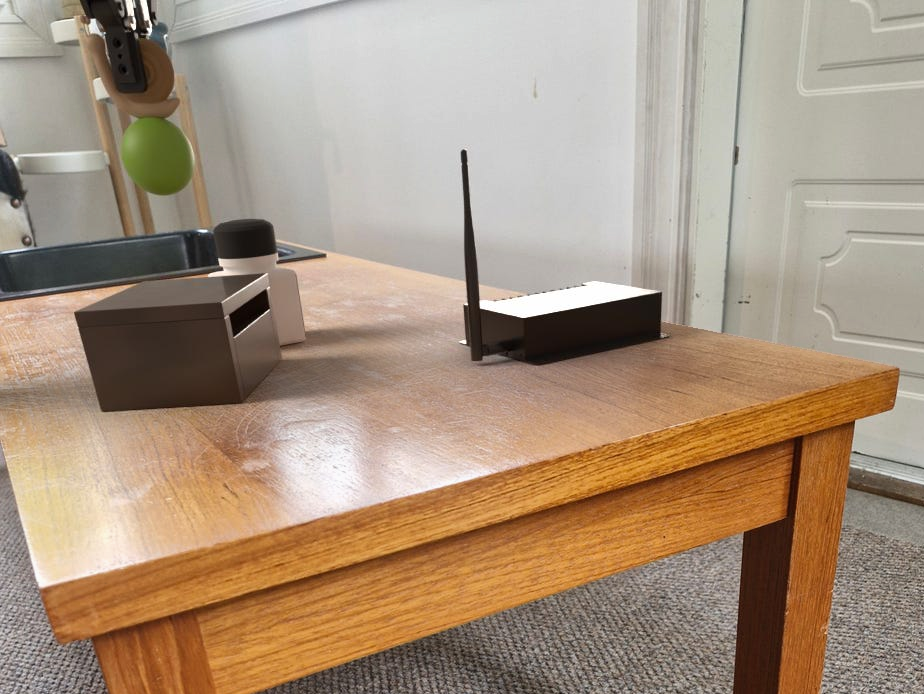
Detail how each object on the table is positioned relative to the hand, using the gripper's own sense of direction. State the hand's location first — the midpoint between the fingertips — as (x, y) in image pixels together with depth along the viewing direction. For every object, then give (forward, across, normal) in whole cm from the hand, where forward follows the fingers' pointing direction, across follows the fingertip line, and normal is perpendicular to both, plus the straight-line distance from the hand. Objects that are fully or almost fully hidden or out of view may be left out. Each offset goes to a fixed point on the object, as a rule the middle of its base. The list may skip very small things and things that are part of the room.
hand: (138, 92), depth 68 cm
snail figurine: (+7, 0, 0) cm, 7 cm away
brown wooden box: (+23, -3, -1) cm, 23 cm away
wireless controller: (+22, -12, +31) cm, 40 cm away
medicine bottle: (+23, -20, +1) cm, 30 cm away
